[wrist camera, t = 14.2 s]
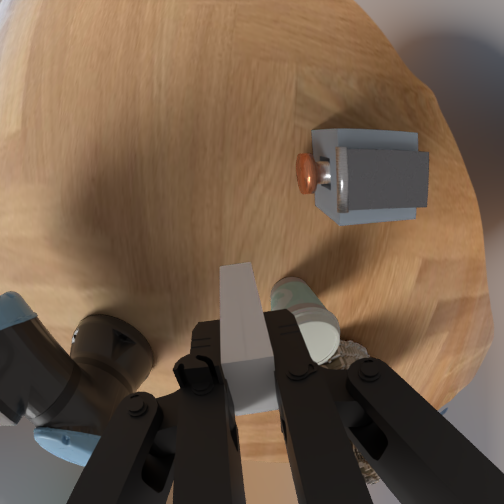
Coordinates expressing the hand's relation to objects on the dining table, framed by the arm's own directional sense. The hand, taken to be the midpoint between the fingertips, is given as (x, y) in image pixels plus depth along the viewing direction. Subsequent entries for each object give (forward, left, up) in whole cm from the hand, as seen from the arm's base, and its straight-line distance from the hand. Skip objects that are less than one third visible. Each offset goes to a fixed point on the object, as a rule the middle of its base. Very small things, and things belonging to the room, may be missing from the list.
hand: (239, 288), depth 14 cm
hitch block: (+16, +3, -23) cm, 28 cm away
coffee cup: (+7, -15, -24) cm, 29 cm away
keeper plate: (+15, +3, -14) cm, 21 cm away
